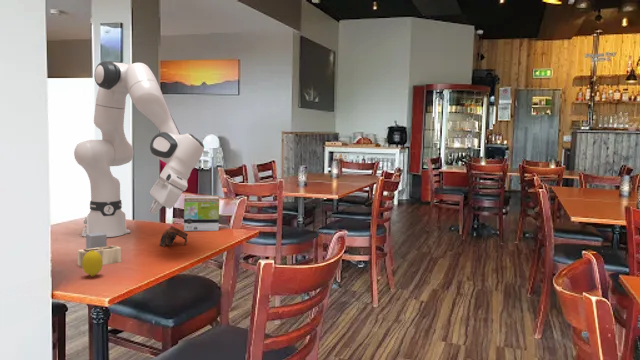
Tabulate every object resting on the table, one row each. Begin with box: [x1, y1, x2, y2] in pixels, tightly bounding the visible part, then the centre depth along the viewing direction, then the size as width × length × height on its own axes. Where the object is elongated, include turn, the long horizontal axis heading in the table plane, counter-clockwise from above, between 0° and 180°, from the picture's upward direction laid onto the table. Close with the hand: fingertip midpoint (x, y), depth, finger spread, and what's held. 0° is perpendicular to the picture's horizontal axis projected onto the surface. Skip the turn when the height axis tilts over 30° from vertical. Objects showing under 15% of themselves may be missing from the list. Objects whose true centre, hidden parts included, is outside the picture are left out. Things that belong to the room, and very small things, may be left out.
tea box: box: [183, 194, 220, 232], centre depth 229 cm, size 15×10×15 cm, turn 104°
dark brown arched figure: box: [159, 225, 189, 248], centre depth 196 cm, size 12×10×8 cm
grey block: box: [85, 232, 108, 249], centre depth 176 cm, size 5×5×8 cm
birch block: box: [76, 244, 122, 269], centre depth 168 cm, size 5×5×12 cm
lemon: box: [81, 250, 104, 278], centre depth 153 cm, size 6×6×8 cm
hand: (152, 213), depth 177 cm, fingers closed
